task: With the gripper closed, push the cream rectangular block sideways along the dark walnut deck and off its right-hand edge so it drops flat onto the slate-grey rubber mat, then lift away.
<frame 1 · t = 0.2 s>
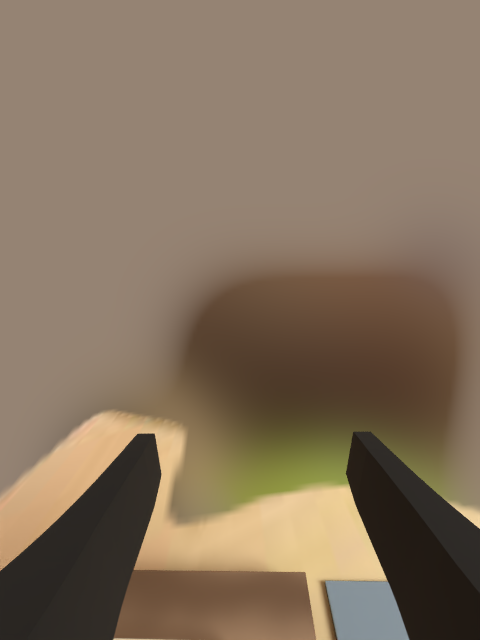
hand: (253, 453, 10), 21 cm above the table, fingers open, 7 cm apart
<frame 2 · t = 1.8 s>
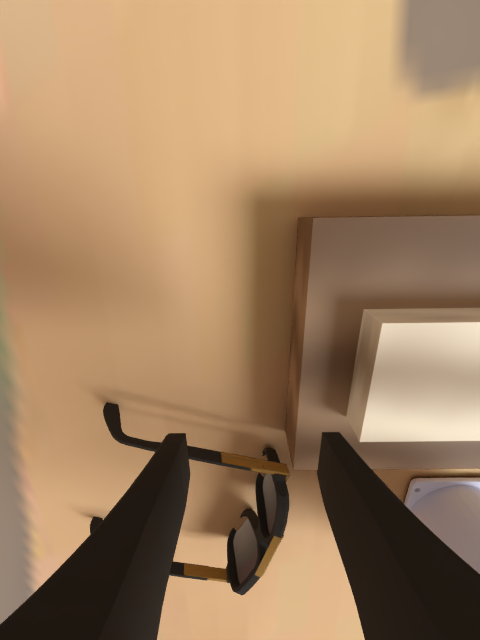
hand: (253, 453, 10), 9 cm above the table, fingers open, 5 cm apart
cream rectangular block: (442, 366, 15), point 3 cm above the table, touching deck
sunglasses: (187, 477, 24), on the table
deck: (421, 339, 18), on the table
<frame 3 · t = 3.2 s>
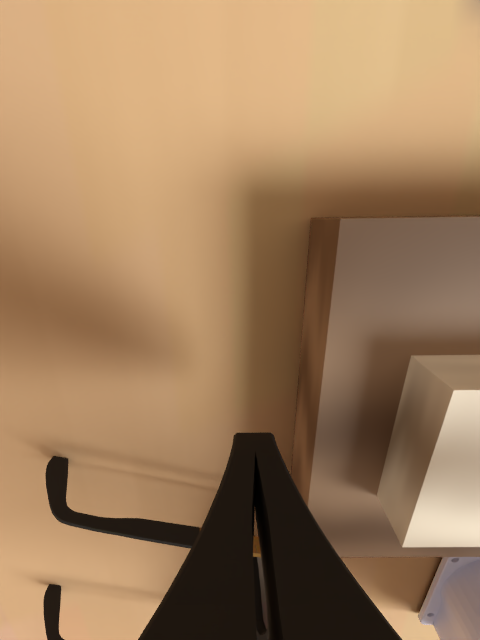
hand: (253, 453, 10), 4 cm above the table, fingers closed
sunglasses: (164, 538, 19), on the table
deck: (472, 381, 14), on the table
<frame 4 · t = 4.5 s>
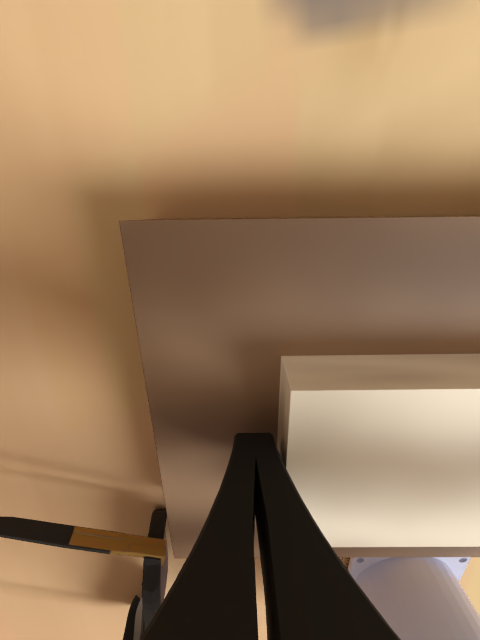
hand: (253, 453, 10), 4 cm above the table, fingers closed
cream rectangular block: (404, 432, 11), point 4 cm above the table, touching deck
sunglasses: (71, 538, 19), on the table
deck: (348, 382, 14), on the table
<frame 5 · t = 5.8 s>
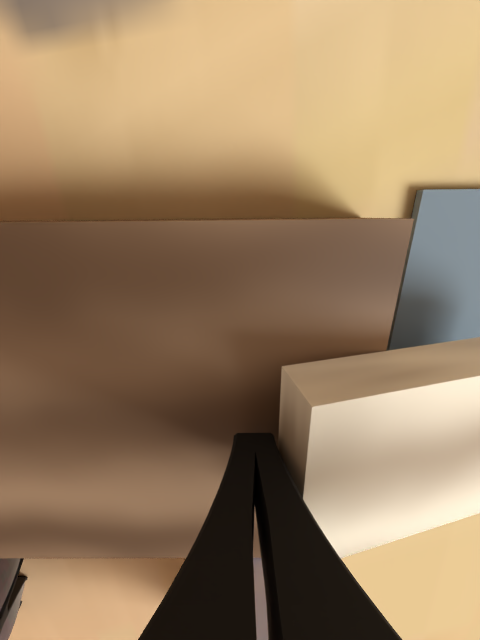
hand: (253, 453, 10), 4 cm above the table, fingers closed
cream rectangular block: (394, 424, 11), point 3 cm above the table, tilted 14°, touching deck
deck: (165, 384, 14), on the table
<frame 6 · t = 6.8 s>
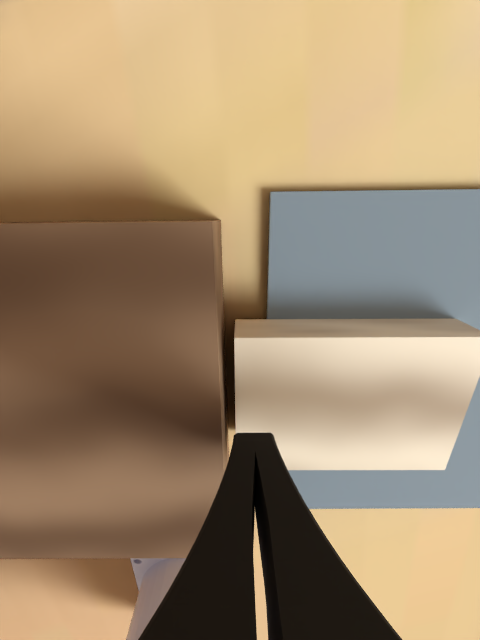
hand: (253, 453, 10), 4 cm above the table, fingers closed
cream rectangular block: (335, 384, 13), resting on mat
mat: (419, 382, 14), on the table
deck: (54, 385, 14), on the table
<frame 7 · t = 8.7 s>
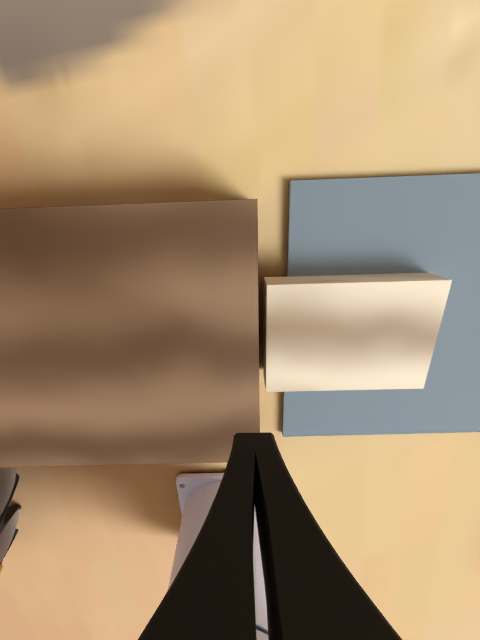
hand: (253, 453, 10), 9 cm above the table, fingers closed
cream rectangular block: (339, 327, 18), resting on mat
mat: (404, 326, 18), on the table
deck: (124, 334, 18), on the table
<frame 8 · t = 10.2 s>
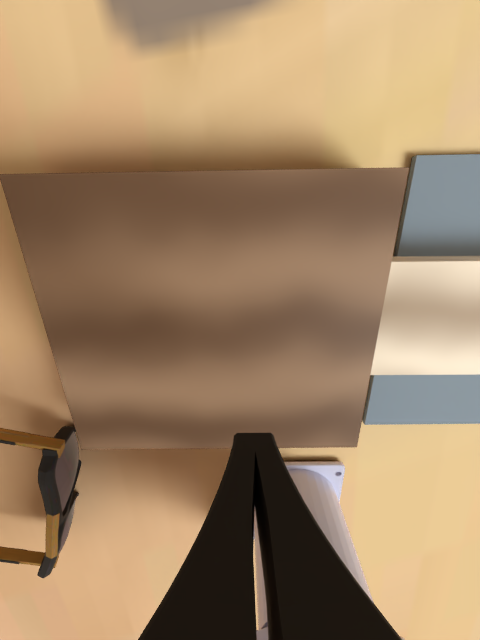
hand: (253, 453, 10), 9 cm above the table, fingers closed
cream rectangular block: (441, 311, 17), resting on mat
sunglasses: (5, 458, 23), on the table
deck: (217, 315, 18), on the table
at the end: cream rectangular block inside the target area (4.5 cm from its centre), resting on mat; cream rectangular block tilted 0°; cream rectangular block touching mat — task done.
